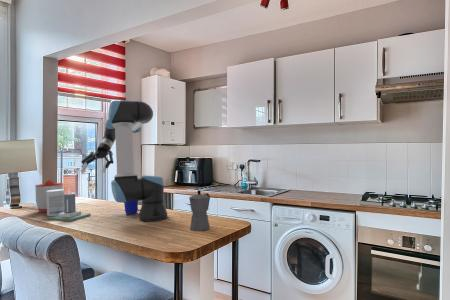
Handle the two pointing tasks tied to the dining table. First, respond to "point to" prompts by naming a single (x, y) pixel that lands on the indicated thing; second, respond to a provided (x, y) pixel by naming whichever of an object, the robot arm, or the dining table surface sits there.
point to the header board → (69, 216)
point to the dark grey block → (69, 203)
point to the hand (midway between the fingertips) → (92, 171)
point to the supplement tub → (55, 202)
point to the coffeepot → (199, 212)
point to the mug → (131, 207)
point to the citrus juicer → (41, 194)
